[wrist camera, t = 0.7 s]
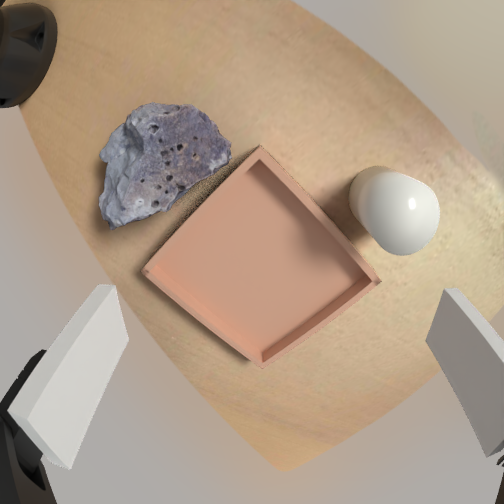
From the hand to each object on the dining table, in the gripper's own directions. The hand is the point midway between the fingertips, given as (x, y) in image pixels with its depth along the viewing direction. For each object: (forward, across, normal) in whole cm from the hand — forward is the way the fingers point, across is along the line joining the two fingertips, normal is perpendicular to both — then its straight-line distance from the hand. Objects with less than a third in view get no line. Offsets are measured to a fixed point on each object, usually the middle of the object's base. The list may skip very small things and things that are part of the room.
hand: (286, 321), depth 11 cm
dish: (+22, -1, -9) cm, 24 cm away
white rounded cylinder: (+22, +12, 0) cm, 26 cm away
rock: (+23, -12, +3) cm, 26 cm away
